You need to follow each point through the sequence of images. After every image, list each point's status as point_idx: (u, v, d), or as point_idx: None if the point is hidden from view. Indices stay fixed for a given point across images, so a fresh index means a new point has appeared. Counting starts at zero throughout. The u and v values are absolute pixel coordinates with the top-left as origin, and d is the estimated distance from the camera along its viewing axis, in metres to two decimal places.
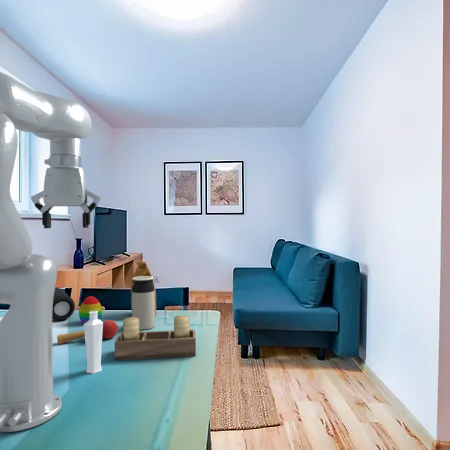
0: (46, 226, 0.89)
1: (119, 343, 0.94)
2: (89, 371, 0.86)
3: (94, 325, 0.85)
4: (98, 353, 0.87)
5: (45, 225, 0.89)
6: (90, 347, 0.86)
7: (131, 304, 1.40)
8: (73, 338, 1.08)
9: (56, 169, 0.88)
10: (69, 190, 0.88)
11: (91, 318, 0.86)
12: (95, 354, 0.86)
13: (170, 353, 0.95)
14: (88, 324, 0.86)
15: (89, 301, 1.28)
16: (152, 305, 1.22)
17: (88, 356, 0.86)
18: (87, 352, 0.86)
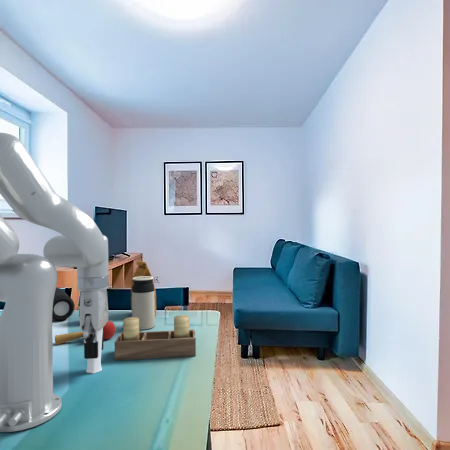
0: None
1: (119, 343, 0.94)
2: (89, 371, 0.86)
3: None
4: (98, 353, 0.87)
5: (97, 354, 0.85)
6: None
7: (131, 304, 1.40)
8: (71, 339, 1.07)
9: (102, 291, 0.86)
10: (106, 309, 0.89)
11: None
12: None
13: (170, 353, 0.95)
14: None
15: None
16: (152, 305, 1.22)
17: None
18: None
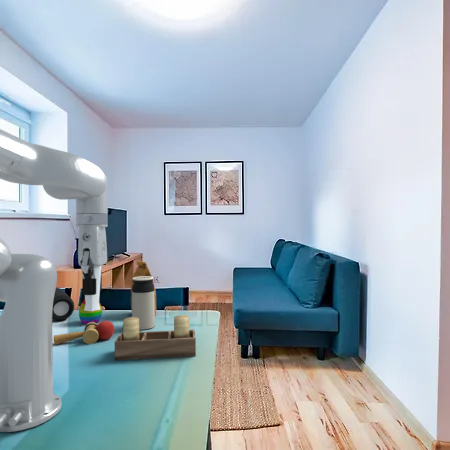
0: None
1: (119, 343, 0.94)
2: (87, 309, 0.85)
3: None
4: (96, 291, 0.86)
5: (95, 291, 0.84)
6: None
7: (131, 304, 1.40)
8: (69, 339, 1.07)
9: (101, 228, 0.86)
10: (104, 249, 0.89)
11: None
12: None
13: (170, 353, 0.95)
14: None
15: None
16: (152, 305, 1.22)
17: None
18: None
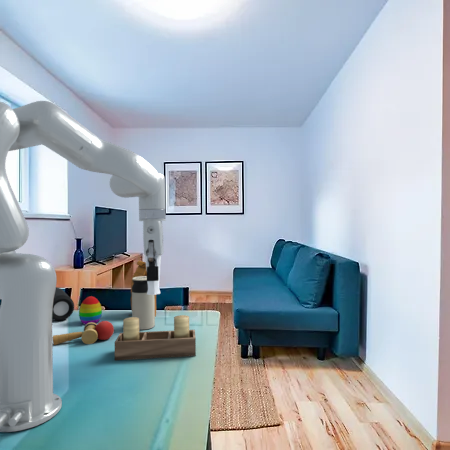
0: None
1: (119, 343, 0.94)
2: (150, 293, 0.97)
3: None
4: None
5: None
6: None
7: (131, 304, 1.40)
8: (69, 339, 1.07)
9: (161, 222, 0.97)
10: None
11: None
12: None
13: (170, 353, 0.95)
14: None
15: (89, 301, 1.28)
16: (152, 305, 1.22)
17: None
18: None
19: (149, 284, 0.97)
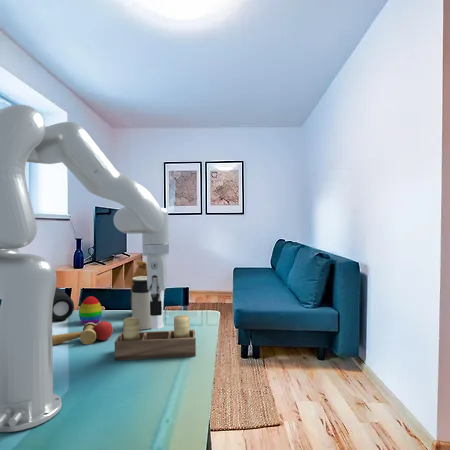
0: None
1: (119, 343, 0.94)
2: (153, 327, 0.97)
3: None
4: None
5: None
6: None
7: (131, 304, 1.40)
8: (67, 339, 1.07)
9: (164, 256, 0.97)
10: None
11: None
12: None
13: (170, 353, 0.95)
14: None
15: (89, 301, 1.28)
16: None
17: None
18: None
19: (152, 318, 0.98)
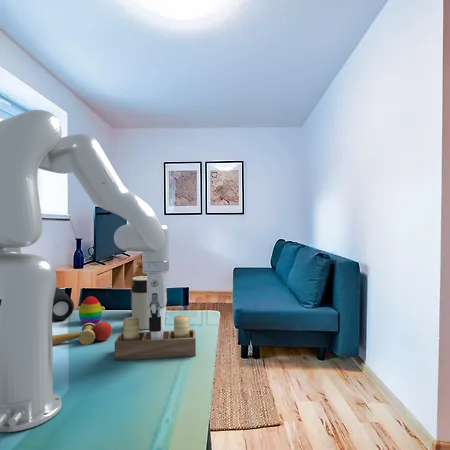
0: None
1: (119, 343, 0.94)
2: None
3: None
4: (161, 334, 0.98)
5: None
6: None
7: (131, 304, 1.40)
8: (66, 340, 1.07)
9: (164, 274, 0.97)
10: None
11: None
12: (159, 334, 0.97)
13: (170, 353, 0.95)
14: None
15: (89, 301, 1.28)
16: None
17: (152, 336, 0.97)
18: (152, 332, 0.98)
19: None
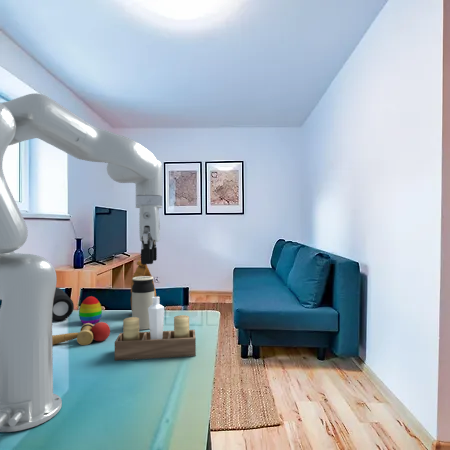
0: None
1: (119, 343, 0.94)
2: None
3: (157, 308, 0.97)
4: (160, 334, 0.98)
5: None
6: (154, 328, 0.97)
7: (131, 304, 1.40)
8: (64, 340, 1.07)
9: (157, 209, 0.97)
10: (159, 228, 1.00)
11: (154, 303, 0.98)
12: (158, 334, 0.97)
13: (170, 353, 0.95)
14: (152, 308, 0.97)
15: (89, 301, 1.28)
16: None
17: (152, 336, 0.97)
18: (151, 333, 0.97)
19: None
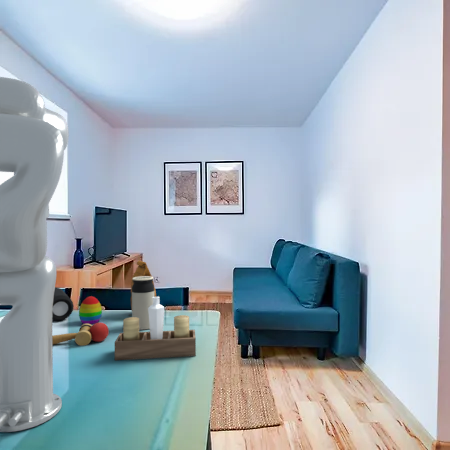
0: None
1: (119, 343, 0.94)
2: None
3: (157, 308, 0.97)
4: (160, 334, 0.98)
5: None
6: (154, 328, 0.97)
7: (131, 304, 1.40)
8: (63, 340, 1.06)
9: None
10: None
11: (154, 303, 0.98)
12: (158, 334, 0.97)
13: (170, 353, 0.95)
14: (152, 308, 0.97)
15: (89, 301, 1.28)
16: None
17: (152, 336, 0.97)
18: (151, 333, 0.97)
19: None
